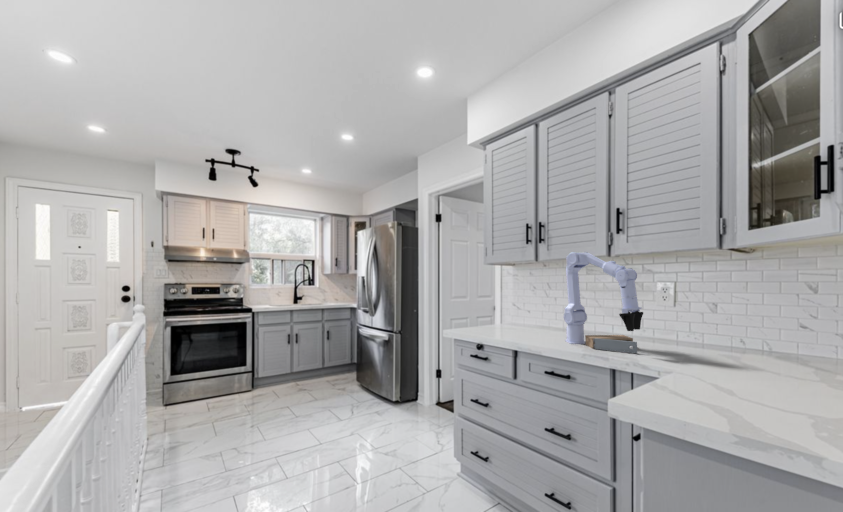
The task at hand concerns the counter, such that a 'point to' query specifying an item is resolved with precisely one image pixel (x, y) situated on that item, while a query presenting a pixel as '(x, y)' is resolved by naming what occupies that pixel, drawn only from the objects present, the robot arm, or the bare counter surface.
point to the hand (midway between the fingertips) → (633, 330)
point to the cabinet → (612, 337)
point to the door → (615, 345)
